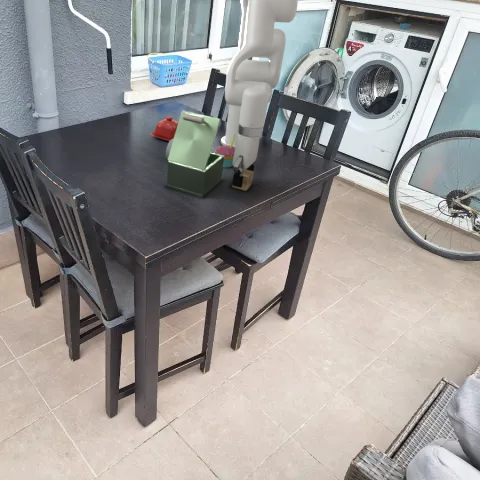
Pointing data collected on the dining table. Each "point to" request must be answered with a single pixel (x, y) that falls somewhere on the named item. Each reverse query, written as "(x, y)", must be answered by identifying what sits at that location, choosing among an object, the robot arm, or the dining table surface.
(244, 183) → the block
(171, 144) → the ceramic mug
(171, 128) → the butter dish
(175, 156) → the lid
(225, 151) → the cupcake
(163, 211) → the dining table surface
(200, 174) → the box
